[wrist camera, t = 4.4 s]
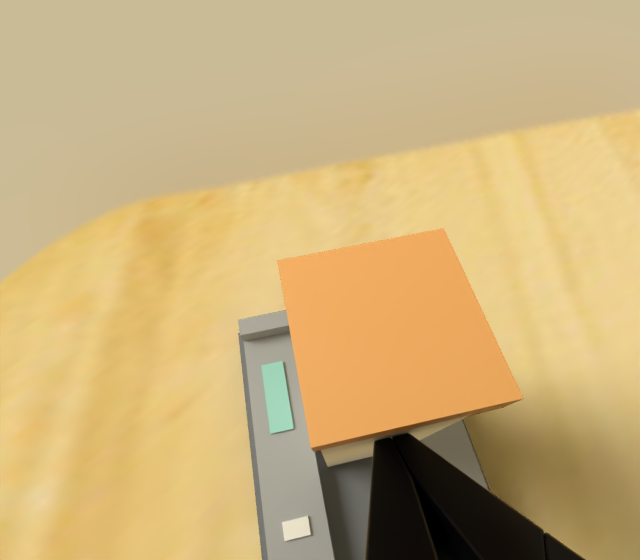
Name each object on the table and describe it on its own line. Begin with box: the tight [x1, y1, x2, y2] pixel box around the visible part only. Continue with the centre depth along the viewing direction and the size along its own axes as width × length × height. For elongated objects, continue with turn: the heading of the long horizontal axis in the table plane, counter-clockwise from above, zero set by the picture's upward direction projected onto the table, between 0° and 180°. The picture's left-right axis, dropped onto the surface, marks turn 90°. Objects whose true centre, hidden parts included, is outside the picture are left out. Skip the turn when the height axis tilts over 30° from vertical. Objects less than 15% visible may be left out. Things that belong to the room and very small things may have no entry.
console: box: [238, 310, 490, 560], centre depth 15 cm, size 15×10×2 cm, turn 12°
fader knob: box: [277, 228, 523, 467], centre depth 11 cm, size 3×3×11 cm
